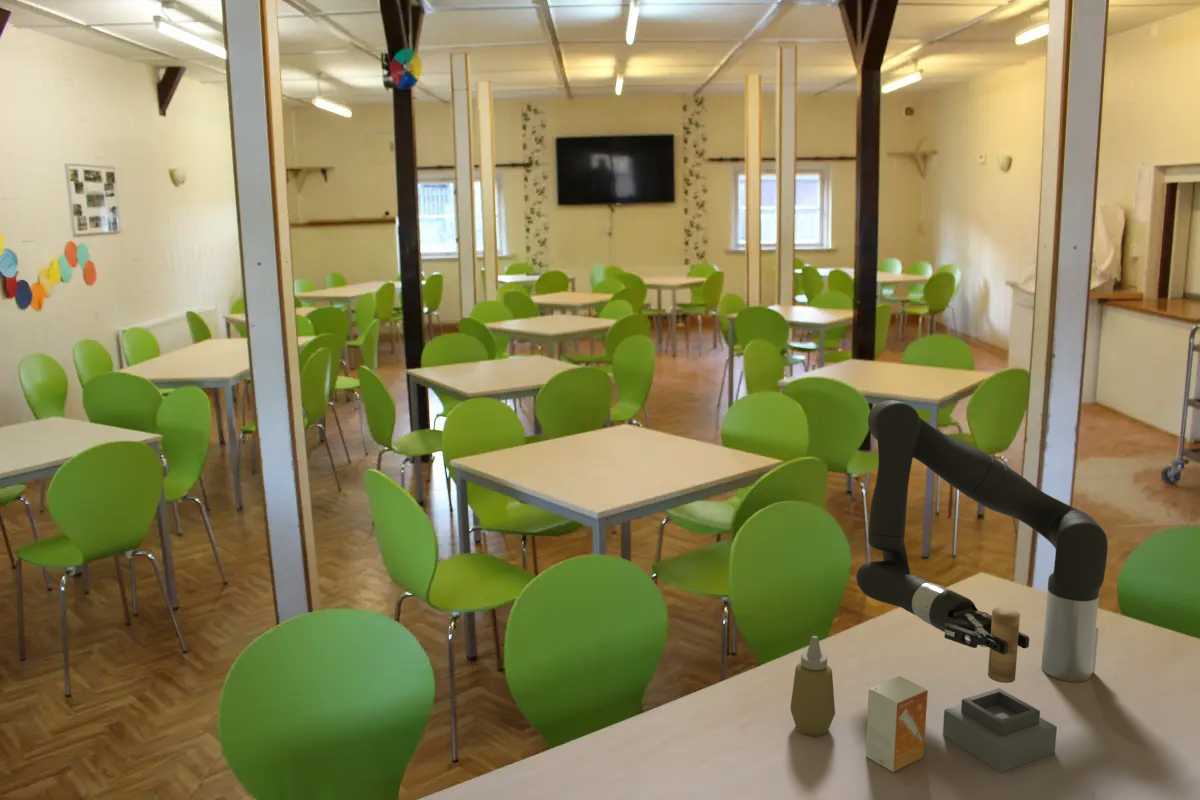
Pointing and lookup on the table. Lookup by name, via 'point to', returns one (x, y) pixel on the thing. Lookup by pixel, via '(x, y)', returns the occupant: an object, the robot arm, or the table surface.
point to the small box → (896, 723)
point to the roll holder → (999, 730)
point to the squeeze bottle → (813, 692)
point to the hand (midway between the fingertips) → (1016, 645)
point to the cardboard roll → (1007, 630)
